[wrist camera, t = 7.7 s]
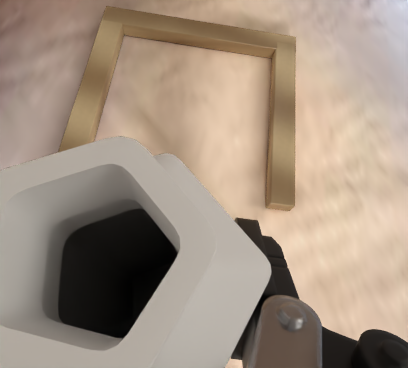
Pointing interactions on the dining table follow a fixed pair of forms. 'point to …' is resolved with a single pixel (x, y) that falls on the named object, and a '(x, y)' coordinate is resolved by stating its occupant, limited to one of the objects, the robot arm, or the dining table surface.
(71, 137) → the brass frame
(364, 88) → the dining table surface
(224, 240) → the white faceted vase
